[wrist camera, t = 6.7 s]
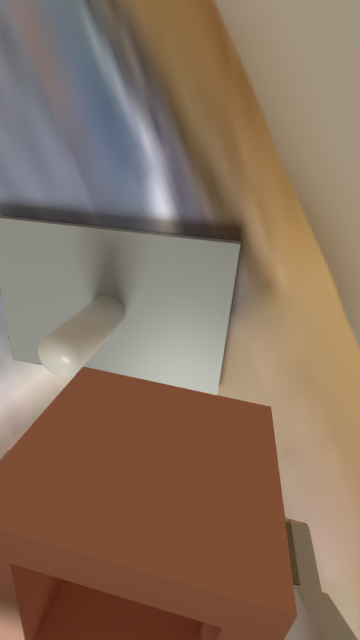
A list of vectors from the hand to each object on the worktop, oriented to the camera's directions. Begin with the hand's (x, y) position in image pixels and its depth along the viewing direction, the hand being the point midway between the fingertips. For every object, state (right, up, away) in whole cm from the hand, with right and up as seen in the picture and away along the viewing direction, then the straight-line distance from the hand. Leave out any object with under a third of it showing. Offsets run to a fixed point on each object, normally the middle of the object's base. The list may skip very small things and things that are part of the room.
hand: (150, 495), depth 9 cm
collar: (0, +1, +1) cm, 2 cm away
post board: (-4, +7, +15) cm, 17 cm away
